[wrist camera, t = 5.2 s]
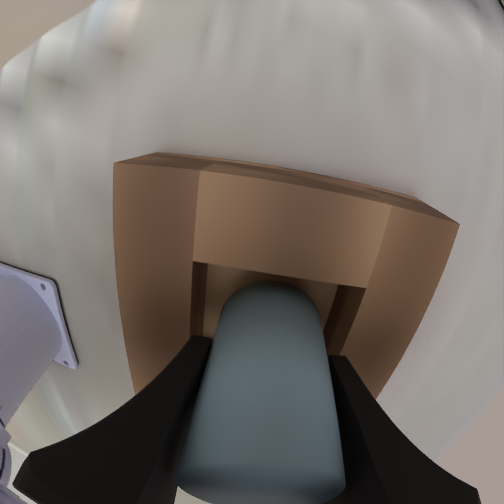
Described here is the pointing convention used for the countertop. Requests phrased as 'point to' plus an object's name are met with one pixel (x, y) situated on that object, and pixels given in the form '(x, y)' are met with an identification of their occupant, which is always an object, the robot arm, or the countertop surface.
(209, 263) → the walnut holder
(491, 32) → the countertop surface
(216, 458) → the peg
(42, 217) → the countertop surface
